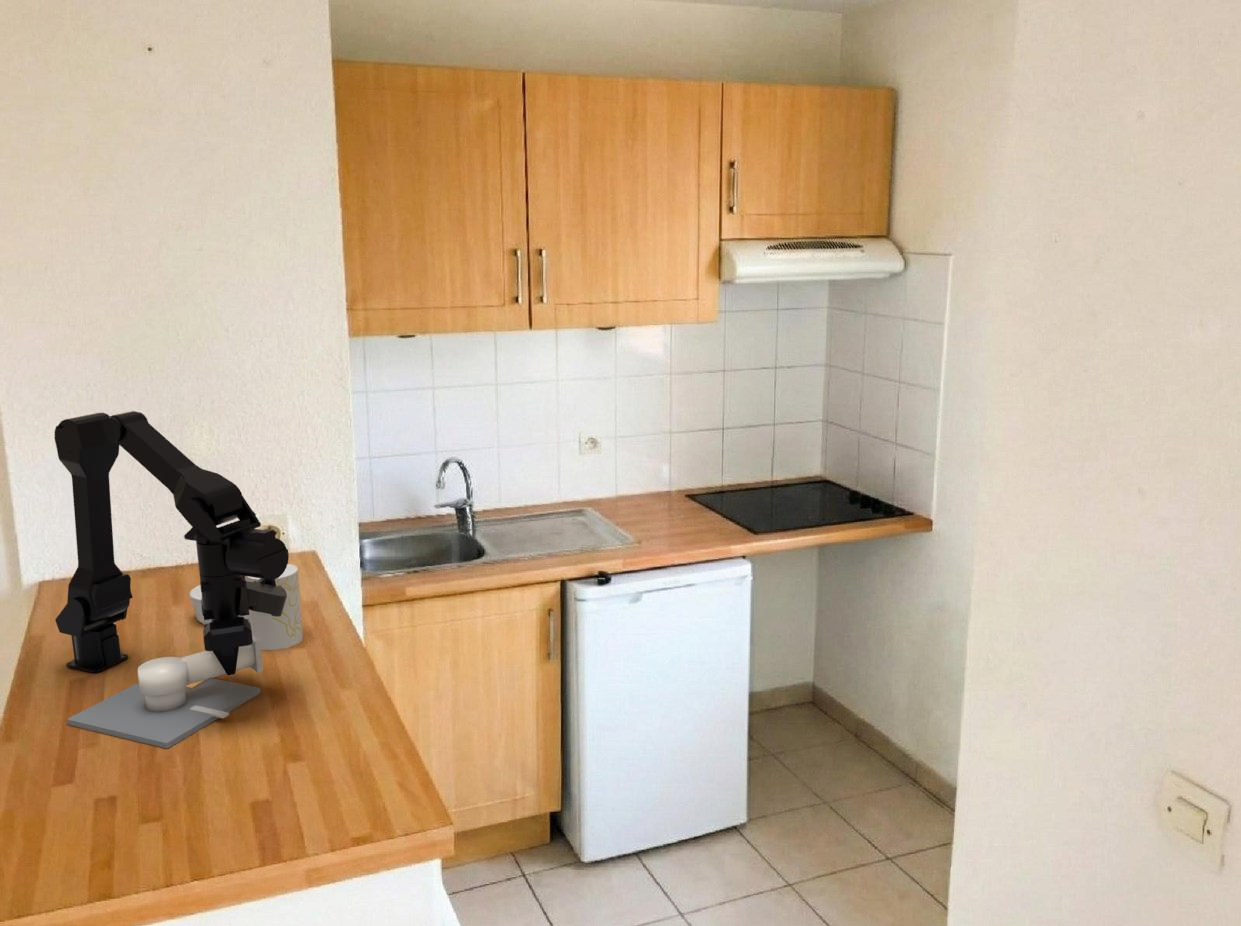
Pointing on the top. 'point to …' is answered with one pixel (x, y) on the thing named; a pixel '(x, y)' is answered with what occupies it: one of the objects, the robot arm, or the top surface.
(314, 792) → the top surface
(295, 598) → the cup
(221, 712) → the grey square panel
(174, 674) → the elbow
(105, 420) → the robot arm
